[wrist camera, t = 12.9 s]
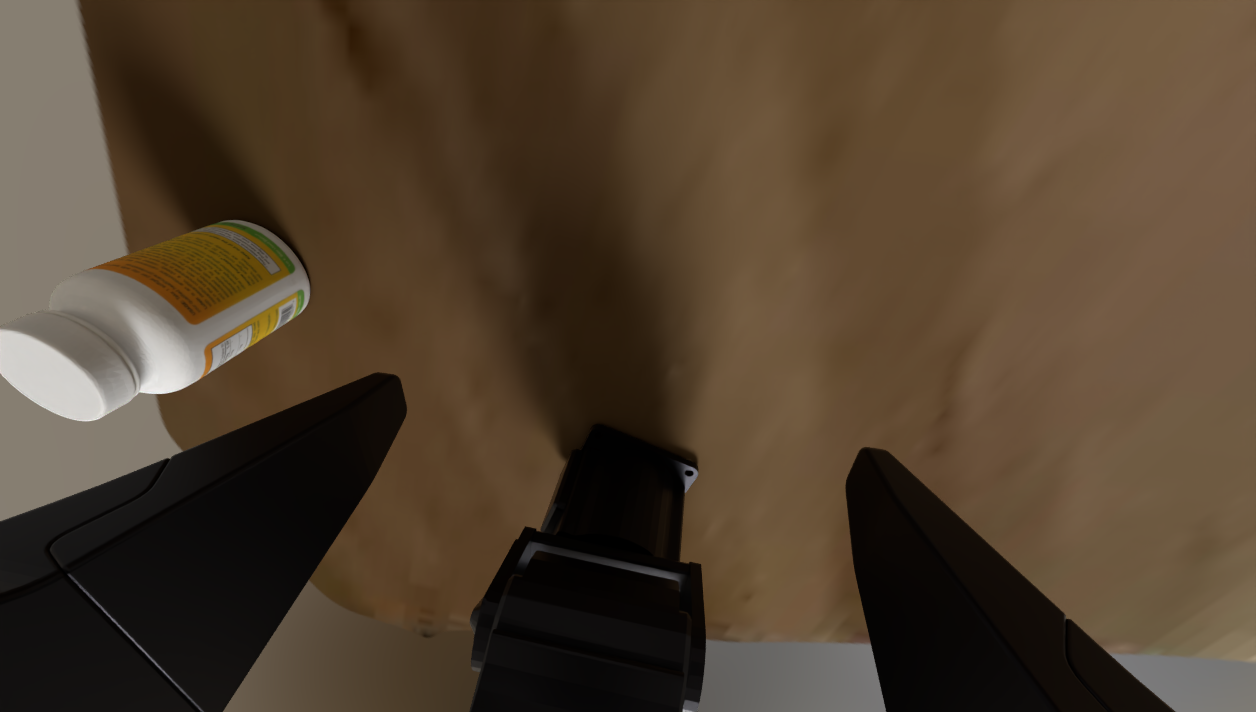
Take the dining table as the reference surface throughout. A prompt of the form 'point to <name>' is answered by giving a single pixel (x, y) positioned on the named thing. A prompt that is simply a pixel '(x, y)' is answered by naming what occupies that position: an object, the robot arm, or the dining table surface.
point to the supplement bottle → (153, 319)
